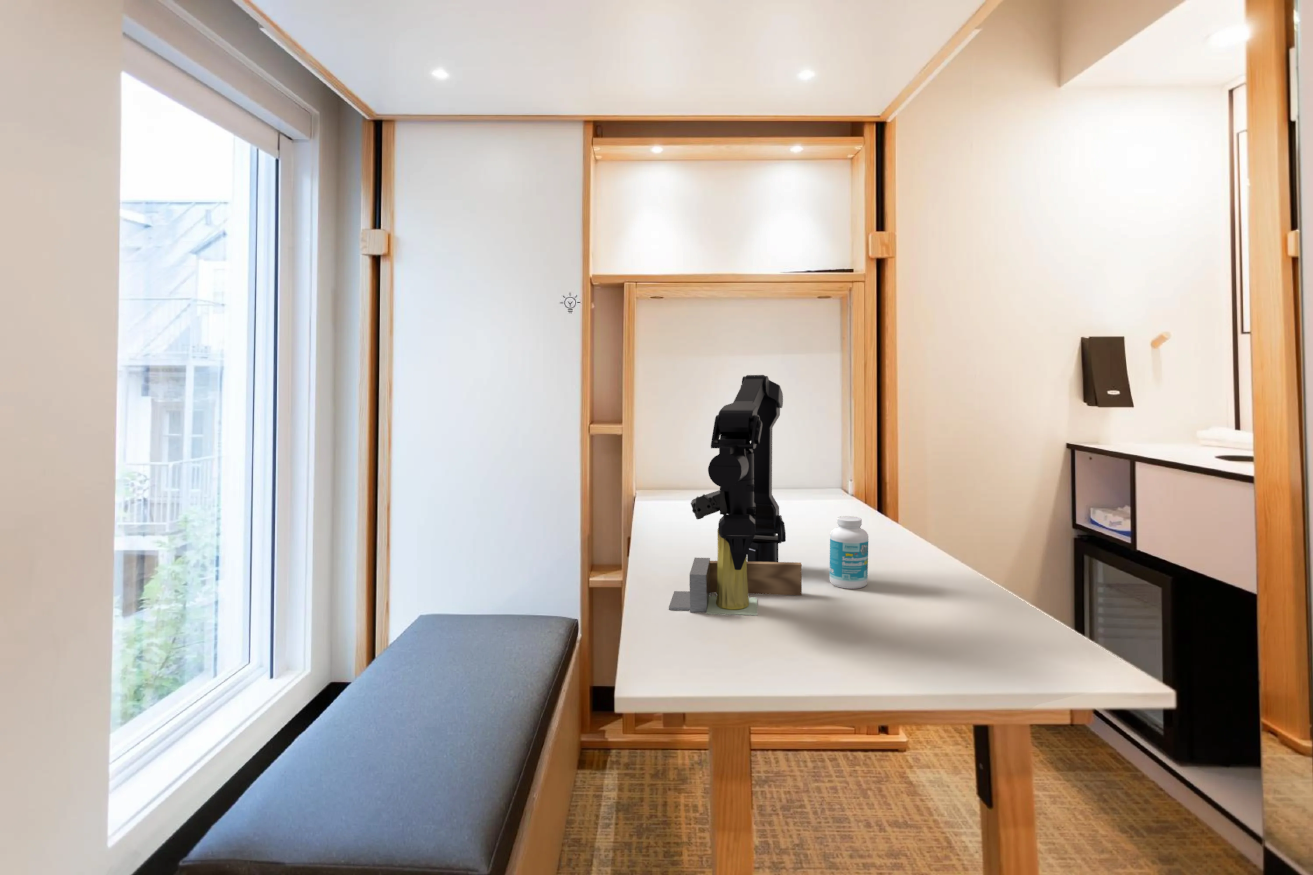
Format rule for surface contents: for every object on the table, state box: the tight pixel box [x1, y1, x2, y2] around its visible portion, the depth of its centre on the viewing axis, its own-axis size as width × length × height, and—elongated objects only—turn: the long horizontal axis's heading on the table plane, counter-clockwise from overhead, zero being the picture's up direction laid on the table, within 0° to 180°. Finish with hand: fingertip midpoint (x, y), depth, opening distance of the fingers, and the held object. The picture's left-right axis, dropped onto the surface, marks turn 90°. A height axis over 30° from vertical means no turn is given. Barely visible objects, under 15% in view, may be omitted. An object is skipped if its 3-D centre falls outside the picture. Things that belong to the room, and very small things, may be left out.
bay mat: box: [705, 595, 758, 616], centre depth 123 cm, size 9×9×1 cm
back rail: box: [710, 560, 803, 596], centre depth 130 cm, size 20×2×6 cm, turn 82°
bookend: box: [668, 557, 711, 614], centre depth 125 cm, size 7×11×7 cm, turn 172°
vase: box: [716, 529, 750, 610], centre depth 122 cm, size 6×6×14 cm
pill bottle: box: [828, 515, 869, 590], centre depth 133 cm, size 8×7×14 cm
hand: (738, 562), depth 122 cm, fingers open, 9 cm apart
